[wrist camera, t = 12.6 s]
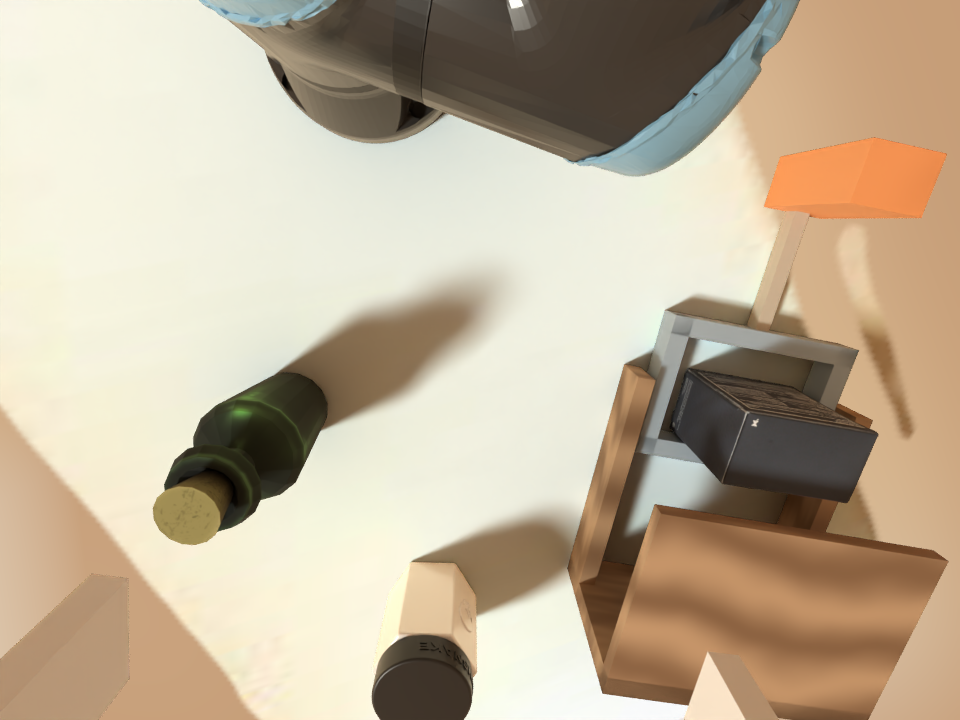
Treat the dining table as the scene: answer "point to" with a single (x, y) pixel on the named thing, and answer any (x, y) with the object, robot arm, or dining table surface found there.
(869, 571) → the shelf lane
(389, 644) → the jar
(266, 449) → the potion bottle
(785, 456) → the small box
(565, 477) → the dining table surface
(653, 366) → the grey and orange frame
